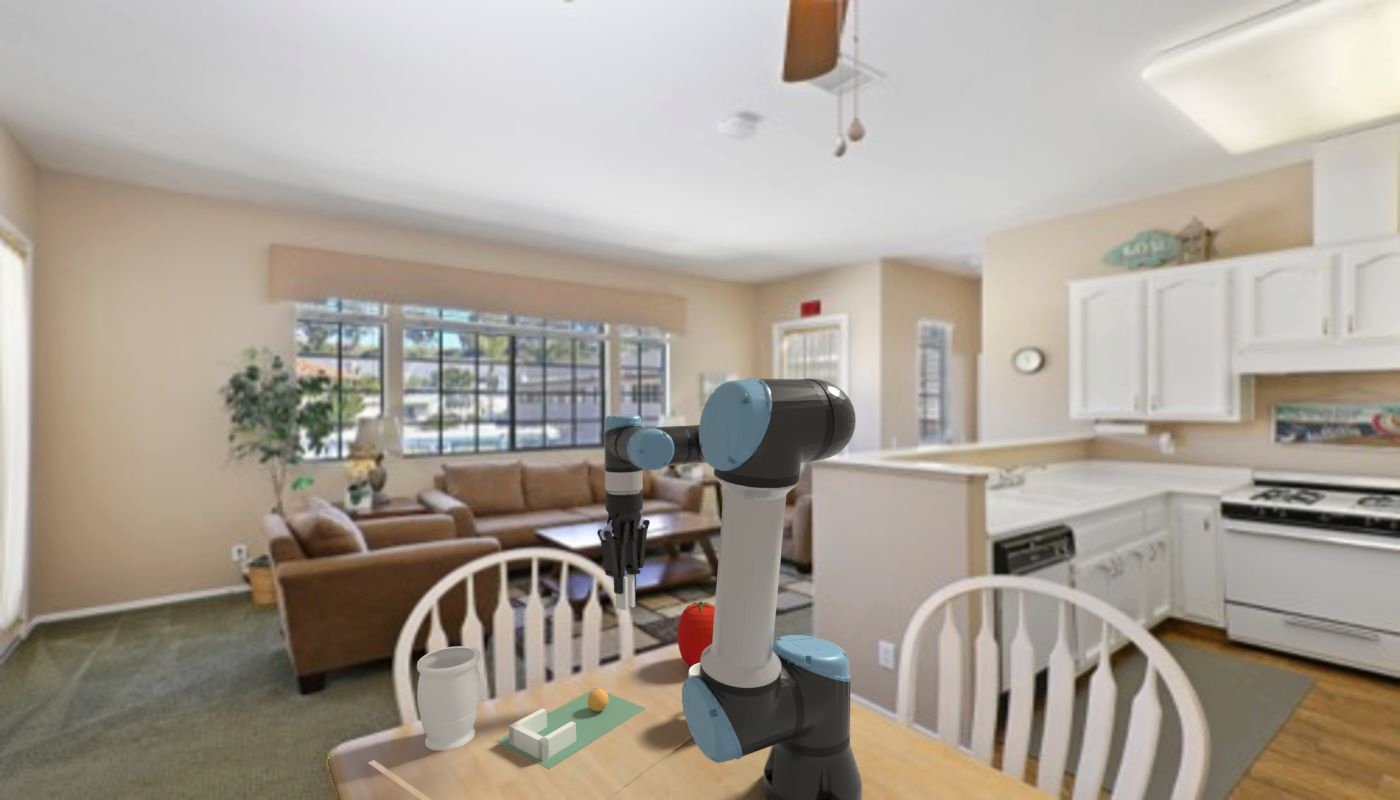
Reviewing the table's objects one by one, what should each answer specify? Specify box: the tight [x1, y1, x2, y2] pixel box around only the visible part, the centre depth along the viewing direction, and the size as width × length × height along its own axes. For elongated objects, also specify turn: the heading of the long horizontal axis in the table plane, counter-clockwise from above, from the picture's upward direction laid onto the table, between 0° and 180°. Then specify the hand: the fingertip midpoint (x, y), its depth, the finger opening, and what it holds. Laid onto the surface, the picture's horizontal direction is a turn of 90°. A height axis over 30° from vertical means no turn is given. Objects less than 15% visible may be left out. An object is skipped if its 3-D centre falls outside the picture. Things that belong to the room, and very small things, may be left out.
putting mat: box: [496, 687, 647, 770], centre depth 119 cm, size 14×24×1 cm, turn 144°
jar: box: [416, 645, 481, 752], centre depth 115 cm, size 11×10×15 cm
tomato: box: [677, 601, 715, 668], centre depth 145 cm, size 13×11×14 cm
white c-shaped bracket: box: [508, 707, 576, 761], centre depth 113 cm, size 9×7×3 cm
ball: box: [588, 688, 608, 712], centre depth 124 cm, size 4×4×4 cm
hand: (625, 606), depth 130 cm, fingers closed
